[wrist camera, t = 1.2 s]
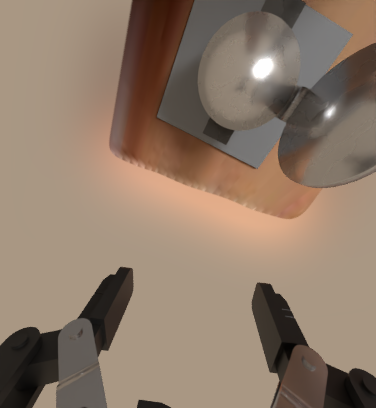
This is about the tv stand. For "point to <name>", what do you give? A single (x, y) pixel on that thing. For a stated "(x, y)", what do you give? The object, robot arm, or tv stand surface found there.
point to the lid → (333, 126)
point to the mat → (191, 56)
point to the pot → (250, 69)
